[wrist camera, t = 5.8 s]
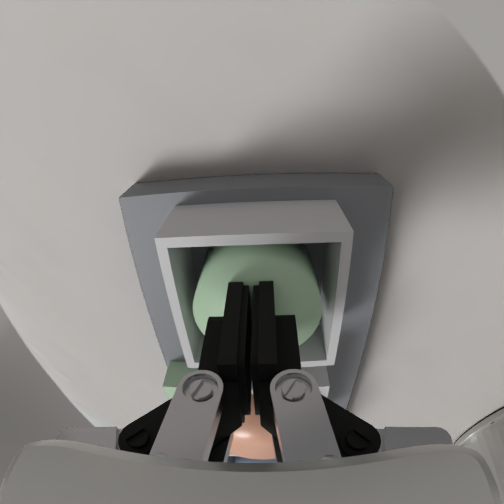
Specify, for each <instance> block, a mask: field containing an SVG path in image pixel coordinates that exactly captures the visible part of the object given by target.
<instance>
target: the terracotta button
mask: <svg viewBox="0 0 504 504" xmlns="http://www.w3.org/2000/svg"><path fill="white" fill-rule="evenodd" d="M229 453H231V454H233V455H236V456H239V457H243V458H249V459H263V460H265V459H275V455H274V449H273V444H272V439H271V434H270V433H269V432H268V431H267V430H265V429H264V428H263V427H262V426H261V423H260V415H255V408H254V398H253V394H251V415H245V423H242V426H241V427H240V428H238V429H237V430H236V431H234V436H233V441H232V445H231V449H230V452H229Z"/></svg>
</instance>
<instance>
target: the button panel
mask: <svg viewBox="0 0 504 504" xmlns="http://www.w3.org/2000/svg"><path fill="white" fill-rule="evenodd" d="M392 196H393V186H392V185H391V184H390V183H389V182H387V181H386V180H385V179H384V178H383V177H382V176H381V175H379V174H366V173H291V174H258V175H237V176H219V177H204V178H190V179H178V180H167V181H156V182H146V183H137V184H134V185H132V186H131V187H130V188H129V189H128V190H127V191H126V192H125V193H123V194H122V195H121V196H120V197H119V202H120V206H121V211H122V215H123V220H124V224H125V228H126V232H127V237H128V241H129V245H130V249H131V252H132V256H133V260H134V264H135V267H136V271H137V275H138V278H139V282H140V285H141V289H142V292H143V295H144V299H145V302H146V305H147V309H148V312H149V315H150V318H151V321H152V324H153V327H154V330H155V333H156V336H157V339H158V342H159V345H160V348H161V351H162V353H163V356H164V359H165V362H166V365H167V367H168V369H167V373H166V376H165V380H164V384H163V388H164V390H165V392H166V395H167V397H168V399H169V400H170V399H171V398H173V395H174V393H175V391H176V388H177V386H178V384H179V382H180V380H181V379H182V378H183V377H184V376H185V375H186V374H188V373H190V372H193V371H197V370H198V367H199V362H200V357H201V351H202V346H203V341H204V336H205V335H204V334H203V333H202V332H201V330H200V329H199V328H198V326H197V324H196V321H195V318H194V315H193V300H194V296H195V292H196V289H197V285H198V282H199V278H200V275H201V271H202V268H203V265H204V261H205V258H206V255H207V252H208V250H209V248H210V246H234V245H264V244H295V243H304V244H305V246H306V247H307V249H308V251H309V254H310V256H311V260H312V264H313V268H314V272H315V276H316V280H317V284H318V289H319V293H320V297H321V303H322V314H321V319H320V322H319V324H318V326H317V328H316V330H315V331H314V333H313V334H312V335H311V336H310V337H309V338H308V339H307V340H306V341H305V342H304V343H302V344H301V345H300V346H299V352H300V361H301V370H303V371H306V372H308V373H310V374H311V375H312V376H313V377H314V378H315V380H316V382H317V384H318V387H319V390H320V393H321V394H322V395H323V396H325V397H327V398H328V399H330V400H331V401H333V402H334V403H336V404H338V405H339V406H341V407H342V408H344V409H346V408H347V405H348V402H349V399H350V396H351V392H352V389H353V386H354V383H355V379H356V376H357V372H358V369H359V365H360V362H361V358H362V354H363V351H364V347H365V343H366V339H367V335H368V331H369V327H370V323H371V319H372V314H373V310H374V305H375V301H376V296H377V291H378V286H379V281H380V276H381V270H382V265H383V259H384V253H385V247H386V241H387V234H388V228H389V220H390V213H391V205H392ZM251 394H253V387H252V391H251ZM235 456H236V455H233V454H231V453H229V456H228V460H227V462H230V463H235Z"/></svg>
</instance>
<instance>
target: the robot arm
mask: <svg viewBox="0 0 504 504" xmlns="http://www.w3.org/2000/svg"><path fill="white" fill-rule="evenodd" d="M252 387H253V398H254V408H255V415H260V423H261V426H262V427H263V428H264V429H265V430H267V431H268V432H269V433H270V434H271V439H272V444H273V449H274V455H275V460H276V463H230V462H227V460H228V456H229V452H230V449H231V445H232V441H233V436H234V431H236V430H237V429H238V428H240V427H241V426H242V423H245V415H251V391H252ZM0 504H504V408H503V409H501V410H499V411H497V412H495V413H494V414H492V415H490V416H489V417H487V418H485V419H484V420H482V421H481V422H479V423H478V424H477V425H475V426H474V427H472V428H471V429H470V430H468V431H467V432H466V433H465V434H463V435H462V436H461V437H460V438H459V439H458V440H457V441H456V442H455V444H454V445H452V439H451V436H450V434H449V433H448V432H447V431H446V430H444V429H442V428H438V427H385V428H384V429H375V428H374V427H373V426H372V425H370V424H369V423H367V422H365V421H364V420H362V419H360V418H359V417H357V416H355V415H354V414H352V413H350V412H349V411H347V410H346V409H344V408H342V407H341V406H339V405H338V404H336V403H334V402H333V401H331V400H330V399H328V398H327V397H325V396H323V395H322V394H321V393H320V390H319V387H318V384H317V382H316V380H315V378H314V377H313V376H312V375H311V374H310V373H308V372H306V371H303V370H301V361H300V352H299V343H298V334H297V326H296V318H295V315H275V303H274V283H273V281H259V285H253V307H252V318H251V305H250V291H249V285H244V283H243V282H229V283H228V288H227V295H226V302H225V309H224V316H217V317H209V318H208V321H207V326H206V331H205V336H204V341H203V346H202V351H201V357H200V362H199V367H198V370H197V371H193V372H190V373H188V374H186V375H185V376H184V377H183V378H182V379H181V380H180V382H179V384H178V386H177V388H176V391H175V393H174V395H173V398H171V399H170V400H168V401H167V402H165V403H163V404H162V405H160V406H158V407H157V408H155V409H154V410H152V411H150V412H149V413H147V414H145V415H144V416H142V417H140V418H139V419H137V420H135V421H134V422H132V423H130V424H129V425H127V426H126V427H125V428H123V429H118V428H117V427H71V428H66V429H64V430H62V431H61V432H60V433H59V434H58V436H57V438H56V440H44V441H38V442H33V443H30V444H27V445H25V446H24V447H22V448H21V449H20V450H19V451H18V453H17V454H16V455H15V457H14V458H13V460H12V462H11V464H10V466H9V468H8V470H7V472H6V475H5V477H4V480H3V482H2V485H1V488H0Z"/></svg>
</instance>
